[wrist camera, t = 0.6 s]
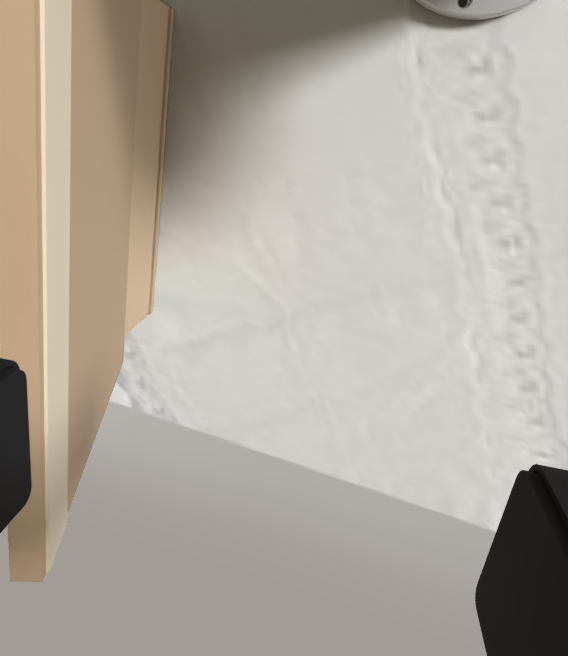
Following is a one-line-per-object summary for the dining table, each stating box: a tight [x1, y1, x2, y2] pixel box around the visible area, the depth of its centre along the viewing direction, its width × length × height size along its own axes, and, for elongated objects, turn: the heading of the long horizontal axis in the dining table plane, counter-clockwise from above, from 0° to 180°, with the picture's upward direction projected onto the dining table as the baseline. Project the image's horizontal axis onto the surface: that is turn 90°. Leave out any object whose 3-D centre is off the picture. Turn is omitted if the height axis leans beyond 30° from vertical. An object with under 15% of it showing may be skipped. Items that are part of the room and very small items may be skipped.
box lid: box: [0, 0, 141, 582], centre depth 21 cm, size 21×17×1 cm
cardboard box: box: [125, 0, 174, 334], centre depth 33 cm, size 20×16×8 cm
